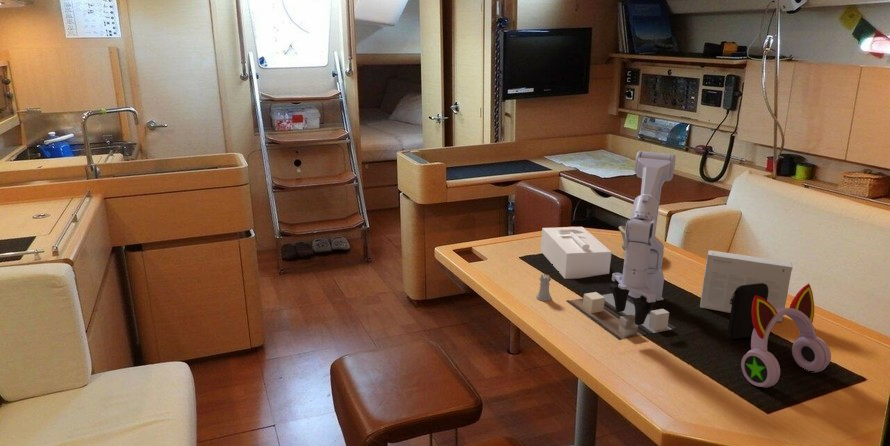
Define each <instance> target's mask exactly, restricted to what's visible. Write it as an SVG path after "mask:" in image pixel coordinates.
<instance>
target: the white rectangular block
mask: <svg viewBox="0 0 890 446" xmlns="http://www.w3.org/2000/svg"><path fill="white" fill-rule="evenodd" d="M540 242H541V243H540V252H541V253H542V254H543V255H544V257H545V258H546V259H547V260H548V261H549V262H550V263H551V265H552V264H553V265H552V266H553V267H554V268H555V269H556V270H557V271H559V272H558V273H559V274H560V275H561V276H562V277H563V279H565V280H569V279H583V278H584V279H585V278H589V277H591V278H592V277H595V276H602V275H609V274H610V269H611V263H612V262H611V260H612V251H611V250H610V249H609V248H608V247H606V246H605V244H603V243H602V242H601V241H600V240H598V238H596V237H595V236H594V235H593V234H592V233H590V231H588V230H587V229H586V228H584V227H583V226H570V227H569V226H568V227H567V226H566V227H565V226H563V227H542V229H541V241H540Z"/></svg>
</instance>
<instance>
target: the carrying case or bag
mask: <svg viewBox="0 0 890 446" xmlns="http://www.w3.org/2000/svg"><path fill="white" fill-rule="evenodd" d="M768 292H769V291H768V286H767V285H766V284H765V283H757V284H748V285H741V286H739V287H737V288H736V290H735V292H734V293H733V295H732V298H731V300H730V304H732V307H731V313H729V321H728V326H727V330H726V331H727V333H728V336H729V338H731V339H733V340H736V339H744V338H745V339H746V338H751V337H752V332H753V329H754V326H753V322H752V303H753V299H754V297H755V295H756V296H760V297H762V298H764V299H765V300H767V298H768Z"/></svg>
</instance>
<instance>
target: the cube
mask: <svg viewBox="0 0 890 446" xmlns="http://www.w3.org/2000/svg"><path fill="white" fill-rule="evenodd" d="M602 295H603V294H600V293H598V292H597V291H594V292H587V293H583V297H582V298H583V308H584V309H586V310H587V311H589V312H590V313H596V312H601V311H604V306H605V303H604V301H605V297H603V296H602Z"/></svg>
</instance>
